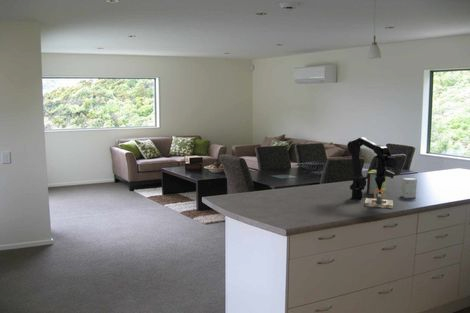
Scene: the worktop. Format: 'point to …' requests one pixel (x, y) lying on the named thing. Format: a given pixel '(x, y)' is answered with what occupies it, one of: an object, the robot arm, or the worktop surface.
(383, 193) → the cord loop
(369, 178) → the protein box
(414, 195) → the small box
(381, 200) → the hook shelf
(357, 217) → the worktop surface
